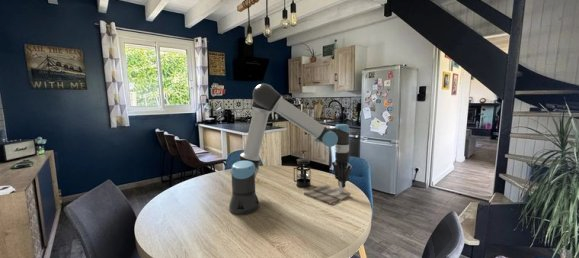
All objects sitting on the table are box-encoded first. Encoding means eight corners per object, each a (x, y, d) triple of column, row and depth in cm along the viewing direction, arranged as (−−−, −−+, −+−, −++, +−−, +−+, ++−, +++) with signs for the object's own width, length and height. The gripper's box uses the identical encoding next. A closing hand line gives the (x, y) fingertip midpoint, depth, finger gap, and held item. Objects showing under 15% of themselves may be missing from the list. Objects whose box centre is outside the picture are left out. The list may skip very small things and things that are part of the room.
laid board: (303, 194, 142) (303, 192, 142) (312, 191, 147) (312, 188, 147) (330, 205, 127) (330, 202, 127) (339, 201, 132) (339, 198, 132)
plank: (314, 190, 147) (313, 188, 147) (323, 186, 153) (323, 184, 153) (340, 200, 132) (340, 198, 132) (350, 195, 138) (350, 192, 138)
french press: (309, 182, 163) (309, 148, 161) (313, 187, 154) (313, 151, 152) (292, 183, 162) (292, 149, 159) (295, 188, 152) (294, 152, 150)
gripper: (328, 150, 139) (328, 190, 142) (347, 154, 129) (347, 197, 132) (337, 149, 144) (336, 187, 146) (355, 152, 134) (355, 193, 136)
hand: (341, 192), depth 139 cm, fingers closed
